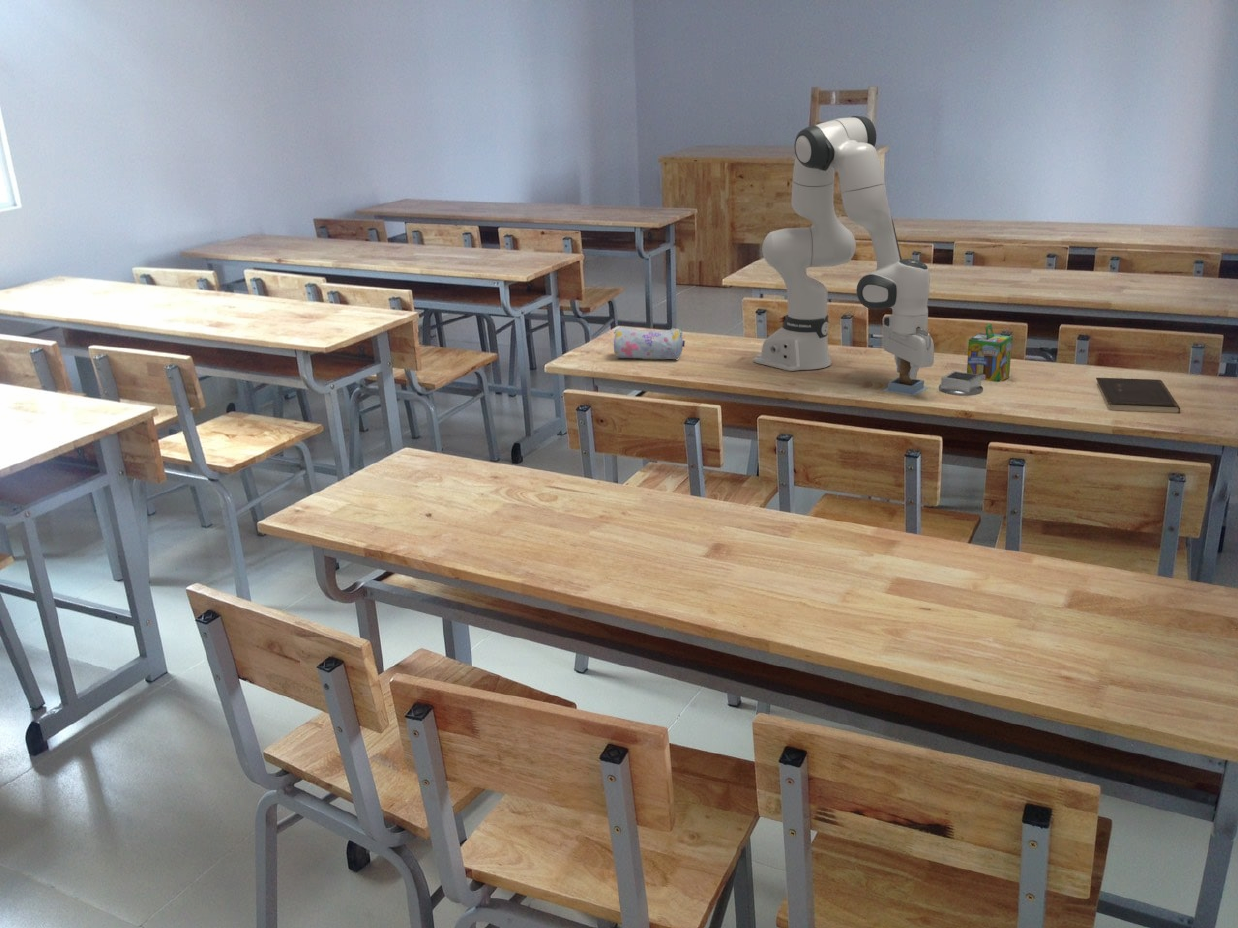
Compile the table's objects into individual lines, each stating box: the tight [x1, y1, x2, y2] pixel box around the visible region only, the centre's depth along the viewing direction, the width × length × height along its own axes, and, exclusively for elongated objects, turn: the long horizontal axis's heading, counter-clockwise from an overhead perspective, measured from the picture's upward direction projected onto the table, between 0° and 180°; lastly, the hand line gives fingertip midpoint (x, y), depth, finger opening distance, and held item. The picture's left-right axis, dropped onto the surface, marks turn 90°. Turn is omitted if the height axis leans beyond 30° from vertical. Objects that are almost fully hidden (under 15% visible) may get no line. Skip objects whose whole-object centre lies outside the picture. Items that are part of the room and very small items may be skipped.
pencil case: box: [613, 326, 686, 360], centre depth 324 cm, size 21×9×10 cm, turn 78°
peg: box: [898, 358, 914, 386], centre depth 282 cm, size 4×4×8 cm
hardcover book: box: [1095, 377, 1181, 414], centre depth 272 cm, size 16×23×2 cm
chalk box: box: [966, 323, 1013, 383], centre depth 290 cm, size 9×9×15 cm
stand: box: [882, 376, 930, 397], centre depth 283 cm, size 9×9×3 cm
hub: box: [938, 370, 984, 397], centre depth 281 cm, size 11×11×4 cm
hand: (906, 375), depth 282 cm, fingers open, 4 cm apart
